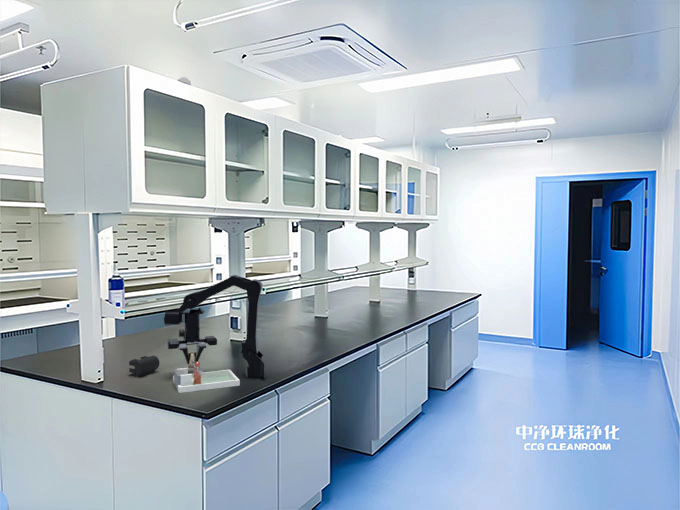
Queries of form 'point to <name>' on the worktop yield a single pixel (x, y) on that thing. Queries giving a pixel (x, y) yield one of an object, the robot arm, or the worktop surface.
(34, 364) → the worktop surface
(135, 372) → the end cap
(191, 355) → the cylinder
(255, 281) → the robot arm
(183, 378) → the pitch
